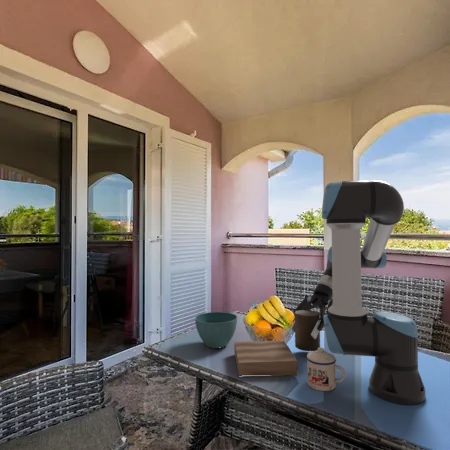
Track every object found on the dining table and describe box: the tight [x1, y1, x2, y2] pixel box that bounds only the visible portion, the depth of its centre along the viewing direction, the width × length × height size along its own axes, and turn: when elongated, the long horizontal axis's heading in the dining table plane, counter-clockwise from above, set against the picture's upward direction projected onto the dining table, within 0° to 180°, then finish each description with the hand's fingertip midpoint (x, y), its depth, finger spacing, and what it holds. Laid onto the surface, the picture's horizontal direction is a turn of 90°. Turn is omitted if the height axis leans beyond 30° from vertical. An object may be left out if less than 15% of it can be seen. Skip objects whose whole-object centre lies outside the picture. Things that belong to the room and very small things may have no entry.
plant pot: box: [194, 311, 238, 349], centre depth 141 cm, size 18×18×12 cm
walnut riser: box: [233, 340, 298, 377], centre depth 120 cm, size 20×20×5 cm
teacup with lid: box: [306, 347, 346, 392], centre depth 103 cm, size 12×9×12 cm
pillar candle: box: [294, 309, 321, 352], centre depth 130 cm, size 10×10×15 cm
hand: (302, 333), depth 128 cm, fingers closed on pillar candle, 9 cm apart
